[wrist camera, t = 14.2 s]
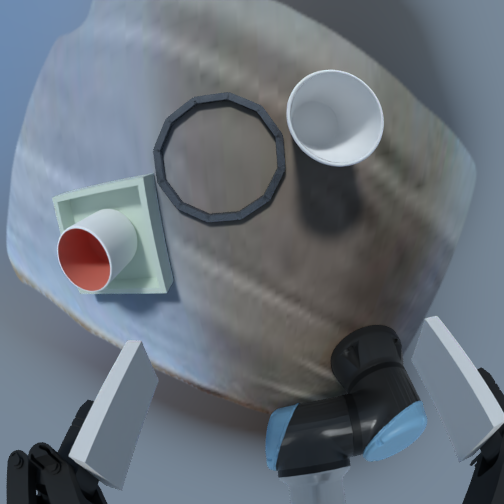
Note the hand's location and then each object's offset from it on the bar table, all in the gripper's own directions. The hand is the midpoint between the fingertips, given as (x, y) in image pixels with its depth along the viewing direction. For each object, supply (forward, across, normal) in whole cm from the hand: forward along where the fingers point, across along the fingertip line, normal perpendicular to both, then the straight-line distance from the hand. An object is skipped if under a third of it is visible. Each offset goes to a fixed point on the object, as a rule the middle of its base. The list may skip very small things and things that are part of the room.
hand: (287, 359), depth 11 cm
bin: (+31, -26, -2) cm, 40 cm away
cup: (+30, -26, -2) cm, 40 cm away
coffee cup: (+31, +7, +11) cm, 34 cm away
